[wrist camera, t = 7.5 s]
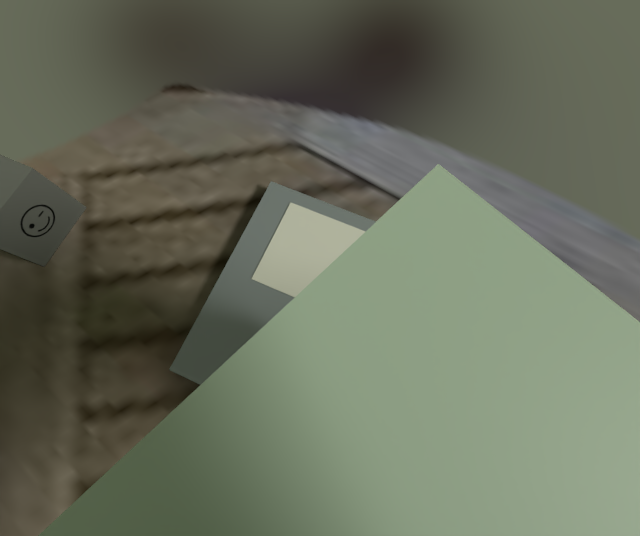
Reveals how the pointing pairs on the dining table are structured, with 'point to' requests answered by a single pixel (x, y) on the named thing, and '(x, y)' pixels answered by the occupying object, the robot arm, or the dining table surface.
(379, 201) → the dining table surface
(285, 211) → the board
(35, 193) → the dice cube
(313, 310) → the post
